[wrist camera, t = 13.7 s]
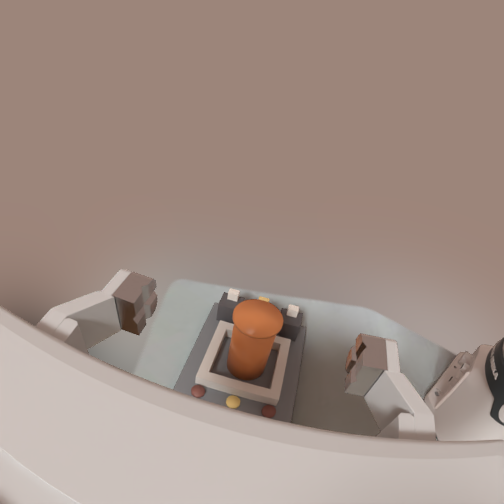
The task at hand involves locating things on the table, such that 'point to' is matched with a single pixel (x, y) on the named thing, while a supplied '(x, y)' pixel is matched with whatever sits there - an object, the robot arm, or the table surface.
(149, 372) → the table surface
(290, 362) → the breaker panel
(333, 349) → the table surface
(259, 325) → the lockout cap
